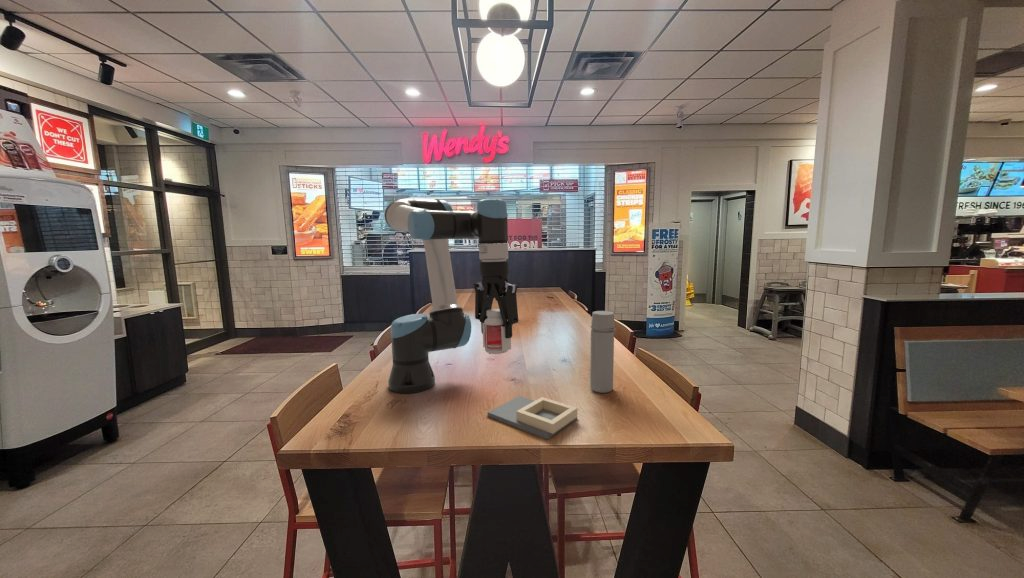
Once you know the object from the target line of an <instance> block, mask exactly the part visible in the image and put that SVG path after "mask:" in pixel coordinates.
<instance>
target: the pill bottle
mask: <svg viewBox="0 0 1024 578" xmlns="http://www.w3.org/2000/svg"><path fill="white" fill-rule="evenodd" d="M486 315H487V317H488V318H487V319H485V321H484V333H485V347H484V351H485V352H486V353H488V354H490V355H500V354H504V353H507V352H508V351H509V350H507V351H502V339H501V326H502V325H503V321H502V317H501V313H500V309H499V308H493V309H492V308H491V309H490V310H487V314H486Z"/></svg>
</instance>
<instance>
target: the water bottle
mask: <svg viewBox="0 0 1024 578" xmlns="http://www.w3.org/2000/svg"><path fill="white" fill-rule="evenodd" d="M590 323H591V324H590V325H589V326H590V365H589V367H590V369H589V370H590V372H589V373H590V378H589V381H590V382H589V387H590V390H591V391H593V392H595V393H600V394H607V393H610V392H611V391H612V390H613V389H614V356H615V355H614V353H615V352H614V351H615V350H614V349H615V331H616V330H617V329H616V324H615V314H614V312H613V311H609V310H596V311H592V313H591V322H590Z"/></svg>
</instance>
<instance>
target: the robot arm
mask: <svg viewBox="0 0 1024 578" xmlns="http://www.w3.org/2000/svg"><path fill="white" fill-rule="evenodd" d="M507 209H508V208H507V202H506V200H504V199H501V198H499V199H498V198H484V199H480V200H479V201H478V202H477V207H476V210H454V209H453V207H452V205H451V204H450V203H449V202H448V200H444V199H438V198H434V199H432V198H431V199H427V198H400V199H397V200H394V201H392V202H391V203H389V204H388V205H387V206H386V208H385V210H384V215H383V216H384V217H383V218H384V221H385V223H386V225H387V226H388V227H389V228H390V229H392V230H394V231H397V232H404V233H408V234H409V236H410V237H411V239H413V240H420V241H422V242H423V245H424V253H425V254H424V255H425V260H426V261H425V262H426V268H427V275H428V281H429V289H430V296H431V302H432V307H431V309H430V311H428V312H429V314H428V315H429V317H427V315H426V314H425V313H411V314H407V315H404V316H400V317H398V318H396V319H393V321H392V322H391V324H390V339H391V355H392V366H391V370H390V375H389V378H388V381H387V382H388V383H387V384H388V389H389V390H390V391H391V392H393V393H398V394H414V393H419V392H423V391H426V390H429V389H430V388H432V387H433V386H435V383H436V376H435V374H434V371H433V368H432V366H431V363H430V360H429V354H430V353H431V352H438V351H444V350H445V351H446V350H449V349H457V348H460V347H464V346H466V345H467V344H468V343H469V341H470V338H471V334H472V321H471V318H470V315H469V314H468V313H467V312H464V311H463V307H462V306H460V305H459V303H458V299H457V291H456V286H455V280H454V279H455V278H454V272H453V266H452V259H451V258H452V257H451V252H450V245H449V240H477V239H478V252H479V253H478V255H479V260H480V262H479V275H480V276H481V277H482V279H481V281H479V282H475V283H473V287H474V293H475V294H474V297H475V300H474V302H475V303H474V318H475V320H478V321H479V322H480V325H481V326H480V328H481V329H480V332H481V334H482V347H483V348H485V333H484V321H485V319H487V318H488V317H487V315H486V314H487V310H490V309H492V308H493V301H494V300H495V301H497V305H498V309H500V313H501V317H502V321H503V325H502V326H501V339H502V351H507V350H508V351H509V350H511V349H512V338H513V325H515V324H519V312H518V311H519V310H518V302H517V301H518V300H517V292H518V285H517V284H511V283H510V282H509V281H508V275H509V273H510V269H509V267H510V265H509V264H510V263H509V261H508V259H509V241H508V239H509V238H508V237H509V233H508V228H509V227H508V225H509V224H508V216H509V215H508V211H507ZM508 351H507V352H508Z"/></svg>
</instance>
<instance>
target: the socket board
mask: <svg viewBox="0 0 1024 578" xmlns="http://www.w3.org/2000/svg"><path fill="white" fill-rule="evenodd" d="M487 417H489V418H491V419H494V420H496V421H499V422H501V423H504V424H506V425H509V426H512V427H514V428H517V429H519V430H522V431H524V432H526V433H529V434H532V435H533V436H537V437H540V438H542V439H545V440H549V439H551V438H552V437H553V436H555V435H556V434H557V433H559V432H560V431H562V430H564V429H565V428H566V427H567V426H569V425H571V424H572V423H573V422H574V421H576V420H577V419H578V407H576V406H573V405H568V404H567V403H564V402H563V403H562V402H560V401H558V400H557V401H556V400H553V399H550V398H547V397H543V396H541V397H540V398H538V399H536V400H534V399H531V398H527V397H525V396H522V395H518V396H517V397H515V398H512V399H510V400H509V401H507V402H504V403H502V404H501V405H499V406H497V407H495V408H493V409H491V410H489V411H487Z"/></svg>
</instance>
